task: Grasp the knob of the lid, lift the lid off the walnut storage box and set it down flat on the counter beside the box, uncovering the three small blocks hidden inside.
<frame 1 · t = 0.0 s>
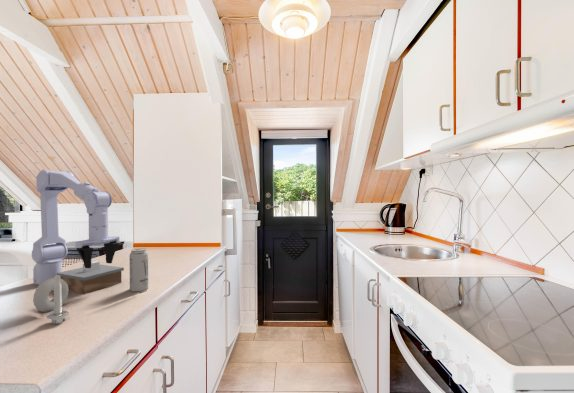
hand: (98, 265, 107), 10 cm above the worktop, fingers open, 7 cm apart
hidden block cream: (100, 282, 118), point 1 cm above the worktop, touching storage box
screw: (58, 322, 84), on the worktop
energy drink can: (139, 291, 110), on the worktop
storage box: (91, 287, 114), on the worktop
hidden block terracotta: (75, 287, 113), point 1 cm above the worktop, touching storage box
lid: (91, 272, 114), point 5 cm above the worktop, touching storage box
donut: (51, 312, 91), on the worktop
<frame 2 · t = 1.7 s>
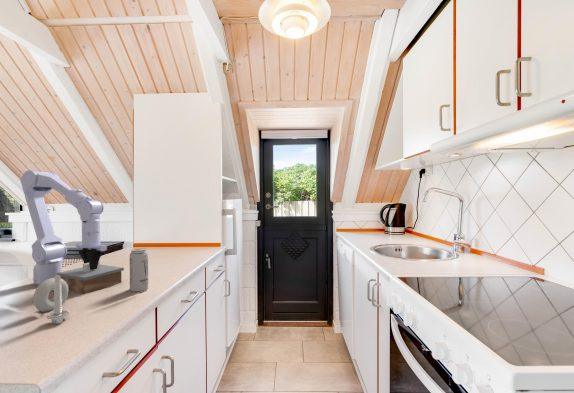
hand: (91, 268, 114), 7 cm above the worktop, fingers closed on lid, 2 cm apart
lid: (91, 272, 114), point 5 cm above the worktop, touching gripper, storage box
everything else where it was.
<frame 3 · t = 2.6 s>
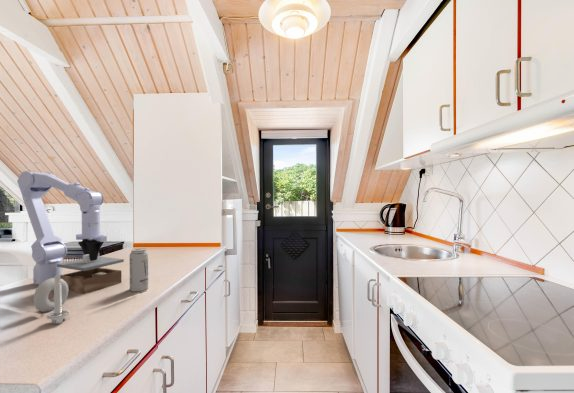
hand: (91, 259, 114), 10 cm above the worktop, fingers closed on lid
lid: (91, 264, 114), point 9 cm above the worktop, touching gripper
everything else where it was.
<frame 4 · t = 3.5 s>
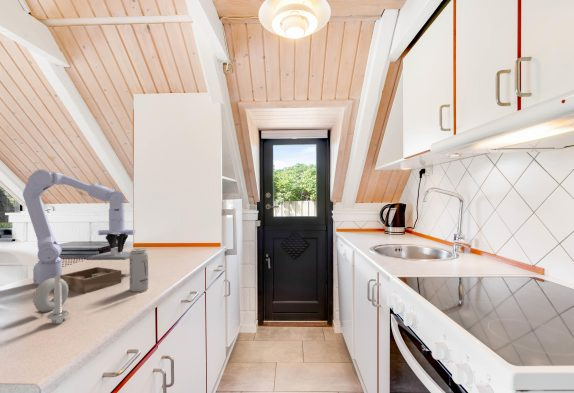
hand: (117, 252, 129), 10 cm above the worktop, fingers closed on lid
lid: (116, 256, 129), point 9 cm above the worktop, touching gripper
everything else where it was.
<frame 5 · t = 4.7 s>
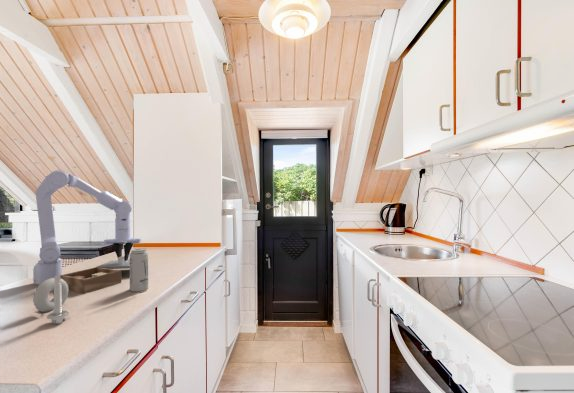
hand: (123, 260, 133), 6 cm above the worktop, fingers closed on lid, 2 cm apart
lid: (122, 265, 133), point 4 cm above the worktop, touching gripper
everything else where it was.
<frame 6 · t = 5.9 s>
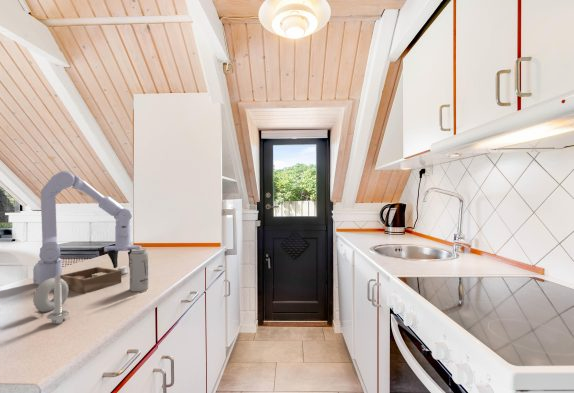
hand: (123, 267, 133), 3 cm above the worktop, fingers open, 6 cm apart
lid: (122, 276, 133), on the worktop
everything else where it was.
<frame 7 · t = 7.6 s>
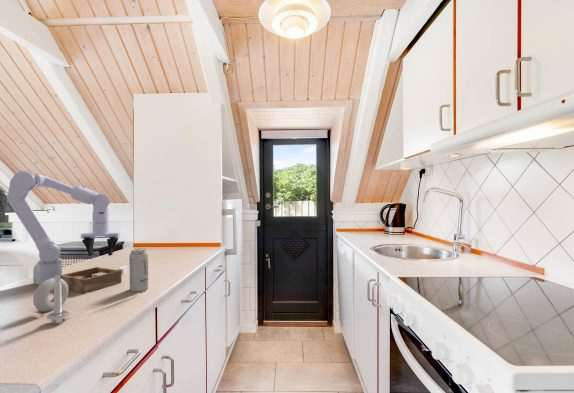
hand: (100, 255, 128), 9 cm above the worktop, fingers open, 7 cm apart
nothing on the worktop moved.
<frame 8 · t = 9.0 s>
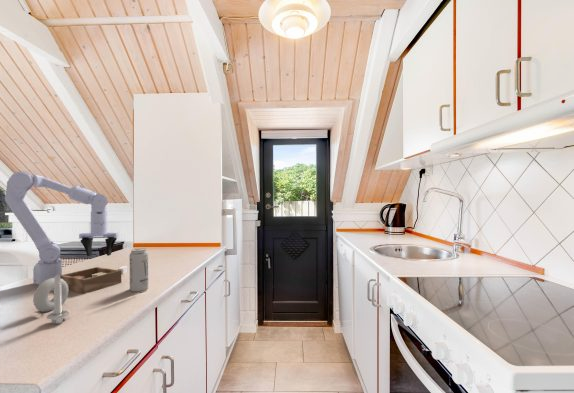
hand: (99, 255, 128), 9 cm above the worktop, fingers open, 7 cm apart
nothing on the worktop moved.
at the end: lid inside the target area (0.5 cm from its centre), on the worktop; lid tilted 0°; lid touching worktop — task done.
